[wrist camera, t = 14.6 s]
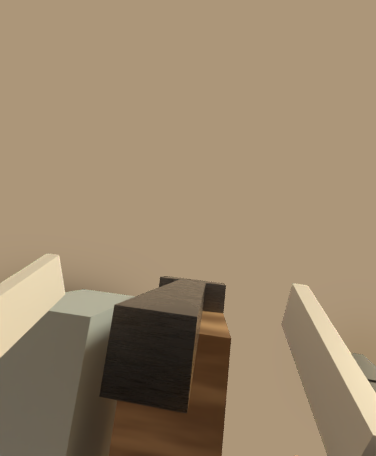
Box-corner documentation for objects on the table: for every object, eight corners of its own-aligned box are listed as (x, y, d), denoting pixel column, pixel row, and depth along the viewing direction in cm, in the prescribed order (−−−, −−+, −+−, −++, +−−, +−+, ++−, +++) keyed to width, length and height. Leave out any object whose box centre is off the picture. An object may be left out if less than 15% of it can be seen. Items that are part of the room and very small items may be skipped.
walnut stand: (195, 777, 16) (231, 338, 21) (66, 730, 17) (128, 322, 22) (201, 527, 32) (221, 308, 37) (134, 510, 33) (161, 300, 38)
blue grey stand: (19, 712, 18) (90, 317, 23) (-88, 672, 19) (1, 303, 24) (108, 504, 34) (139, 296, 38) (46, 488, 35) (83, 289, 39)
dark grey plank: (258, 427, 9) (264, 326, 10) (38, 384, 10) (56, 296, 11) (221, 308, 37) (224, 283, 37) (162, 300, 38) (165, 276, 39)
